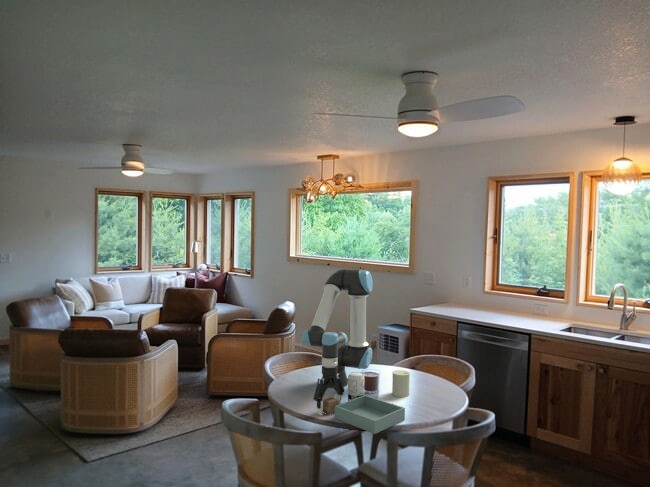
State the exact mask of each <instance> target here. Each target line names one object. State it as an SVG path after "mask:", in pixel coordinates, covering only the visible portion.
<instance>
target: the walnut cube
mask: <svg viewBox="0 0 650 487" xmlns="http://www.w3.org/2000/svg"><path fill="white" fill-rule="evenodd" d="M322 401H323V412H324V413H323V414H325V413H326V414H325V415H327V414H329V415H328V416H331V415H333V414H332V413H334V414H335V406H336V405H338V399H335V397H332V396H326V397H323V398H322ZM330 414H331V415H330Z"/></svg>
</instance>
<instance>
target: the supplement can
mask: <svg viewBox="0 0 650 487" xmlns="http://www.w3.org/2000/svg"><path fill="white" fill-rule="evenodd" d="M347 378H348V385H347V401H350V400H353V399H355V398H358V397H361V396H364V395H365V375H364V373H362V372H360V371H352V372H349V373H348V376H347Z"/></svg>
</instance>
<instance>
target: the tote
mask: <svg viewBox="0 0 650 487" xmlns="http://www.w3.org/2000/svg"><path fill="white" fill-rule="evenodd" d="M405 415H406V407H403V406H400V405H397V404H394V403H391V402H387V401H385V400H382V399H378V398H375V397H374V396H373V397H372V396H370V395H366V394H364V396H361V397H358V398H355V399H353V400H350V401H348V400H347V401H345V402H342V403H341V404H339V405H336V406H335V413H334V419H335V418H336V420H338V419H339V420H338V421H341V422H343V423H345V424H348V425H351V426H353V427H355V428H358V429H361V430H363V431H366V432H369V433H371V434H373V435H376V434H378V433H380V432H382V431H384V430H386V429H389V428H391V427H394V426H395V425H397V424H399V423H401V422H403V421H405V420H406V416H405Z"/></svg>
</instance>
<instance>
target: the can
mask: <svg viewBox="0 0 650 487" xmlns="http://www.w3.org/2000/svg"><path fill="white" fill-rule="evenodd" d="M410 378H411V373H410V371H407V370H402V369H397V370H393V371H392V391H391V395H392V396H395V397H396V398H408V397H409V396H410V395H411V394H410V381H411V380H410Z"/></svg>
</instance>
